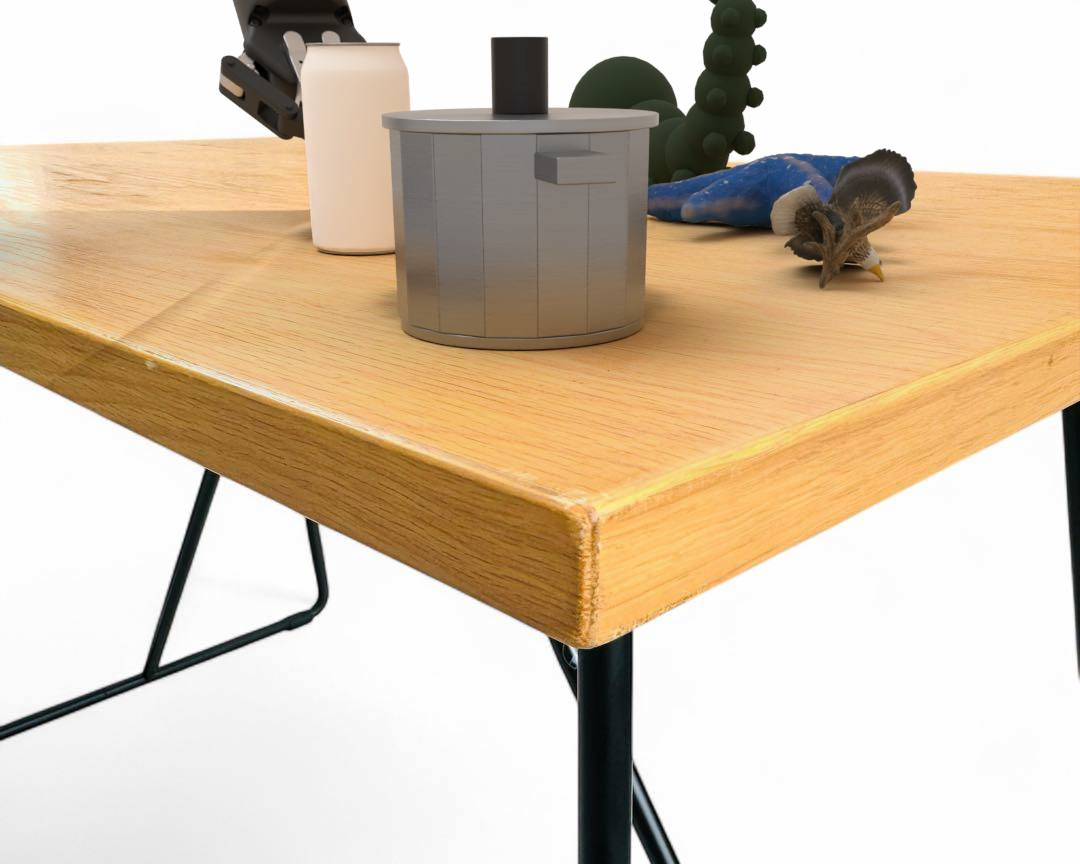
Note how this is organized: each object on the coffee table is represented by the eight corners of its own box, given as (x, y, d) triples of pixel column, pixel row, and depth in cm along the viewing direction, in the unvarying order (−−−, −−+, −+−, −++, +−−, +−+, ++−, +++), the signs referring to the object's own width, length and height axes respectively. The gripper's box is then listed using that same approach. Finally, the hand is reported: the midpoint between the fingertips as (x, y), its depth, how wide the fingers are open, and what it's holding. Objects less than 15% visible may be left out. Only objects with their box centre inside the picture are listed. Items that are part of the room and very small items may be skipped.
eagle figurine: (940, 272, 60) (946, 216, 67) (869, 148, 58) (883, 104, 65) (805, 342, 64) (824, 282, 71) (734, 228, 62) (762, 179, 69)
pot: (450, 374, 46) (443, 140, 43) (367, 298, 61) (357, 119, 57) (712, 352, 49) (722, 133, 46) (574, 285, 64) (575, 114, 61)
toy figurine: (776, 228, 96) (619, 174, 116) (808, -35, 88) (633, -46, 108) (676, 236, 92) (531, 178, 112) (699, -39, 84) (538, -49, 104)
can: (348, 259, 72) (334, 42, 68) (293, 247, 77) (277, 43, 72) (436, 248, 76) (429, 42, 72) (379, 237, 81) (369, 43, 76)
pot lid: (418, 153, 45) (413, 35, 44) (359, 135, 56) (353, 39, 54) (705, 145, 49) (710, 34, 47) (599, 129, 59) (600, 38, 58)
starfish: (694, 204, 97) (696, 140, 95) (925, 220, 88) (933, 148, 86) (570, 232, 83) (570, 156, 81) (831, 254, 73) (838, 168, 71)
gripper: (188, -69, 78) (247, 143, 73) (384, -64, 83) (454, 135, 78) (183, 21, 85) (238, 223, 79) (365, 21, 90) (429, 211, 84)
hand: (345, 179), depth 78 cm, fingers closed
